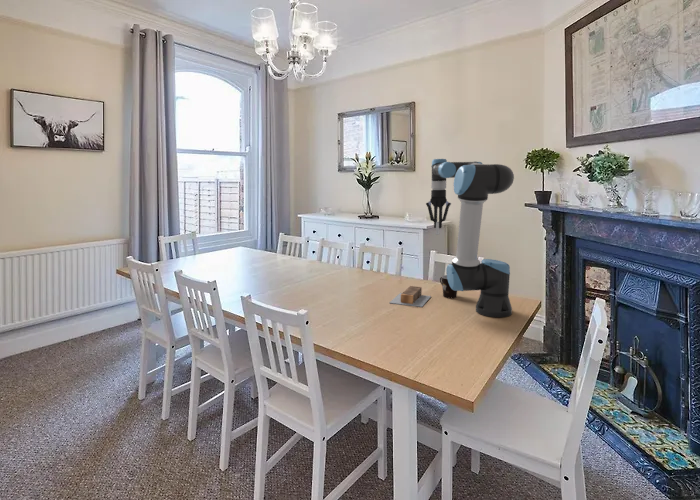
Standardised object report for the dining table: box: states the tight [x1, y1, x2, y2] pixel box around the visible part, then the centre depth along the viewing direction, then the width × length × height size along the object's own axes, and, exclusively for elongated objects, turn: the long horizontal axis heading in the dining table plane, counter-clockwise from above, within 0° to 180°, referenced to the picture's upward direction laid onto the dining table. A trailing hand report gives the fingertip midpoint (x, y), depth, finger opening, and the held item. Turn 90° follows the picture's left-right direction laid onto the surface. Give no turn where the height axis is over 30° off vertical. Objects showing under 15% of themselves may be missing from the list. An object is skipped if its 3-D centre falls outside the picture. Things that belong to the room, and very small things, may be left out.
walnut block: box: [401, 285, 423, 304], centre depth 199 cm, size 6×4×16 cm
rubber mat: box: [389, 292, 432, 308], centre depth 199 cm, size 16×18×1 cm
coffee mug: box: [439, 274, 458, 299], centre depth 204 cm, size 12×9×10 cm
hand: (437, 234), depth 214 cm, fingers closed
